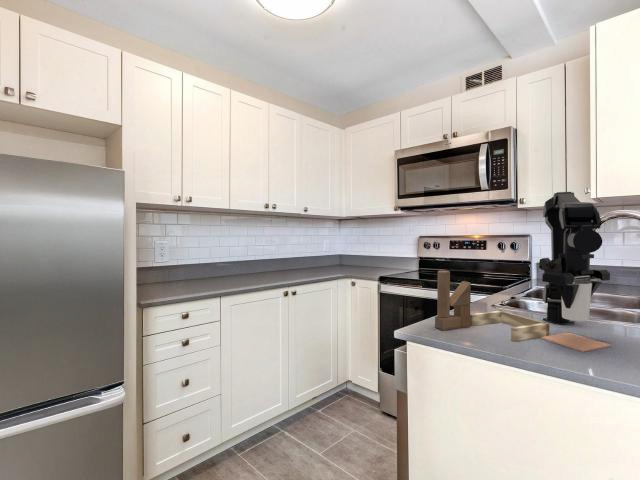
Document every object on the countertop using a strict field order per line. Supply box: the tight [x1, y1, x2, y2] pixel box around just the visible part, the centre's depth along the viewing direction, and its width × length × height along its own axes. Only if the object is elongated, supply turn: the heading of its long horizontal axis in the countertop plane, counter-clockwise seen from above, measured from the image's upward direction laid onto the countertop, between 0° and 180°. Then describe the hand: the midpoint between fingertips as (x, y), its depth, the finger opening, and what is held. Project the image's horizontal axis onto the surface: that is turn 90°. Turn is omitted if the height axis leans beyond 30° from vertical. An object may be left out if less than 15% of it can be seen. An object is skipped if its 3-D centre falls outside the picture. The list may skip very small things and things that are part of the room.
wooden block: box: [434, 269, 472, 331], centre depth 105 cm, size 4×11×18 cm, turn 108°
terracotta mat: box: [540, 332, 612, 353], centre depth 91 cm, size 11×11×1 cm
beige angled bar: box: [470, 310, 550, 342], centre depth 102 cm, size 14×16×4 cm
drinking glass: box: [561, 280, 592, 322], centre depth 91 cm, size 7×7×10 cm
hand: (575, 307), depth 91 cm, fingers closed on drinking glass, 5 cm apart
